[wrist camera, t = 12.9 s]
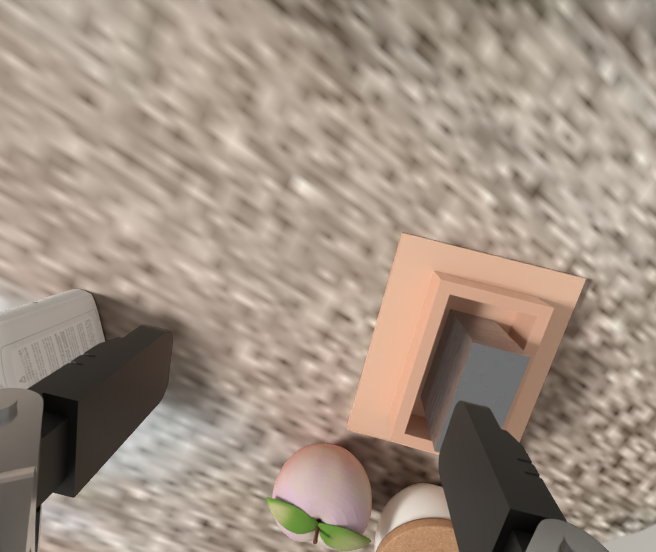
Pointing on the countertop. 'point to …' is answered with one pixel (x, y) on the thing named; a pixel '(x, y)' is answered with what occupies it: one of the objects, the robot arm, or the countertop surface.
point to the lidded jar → (416, 522)
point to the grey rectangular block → (471, 371)
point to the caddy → (428, 323)
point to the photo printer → (46, 336)
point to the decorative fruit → (323, 498)
